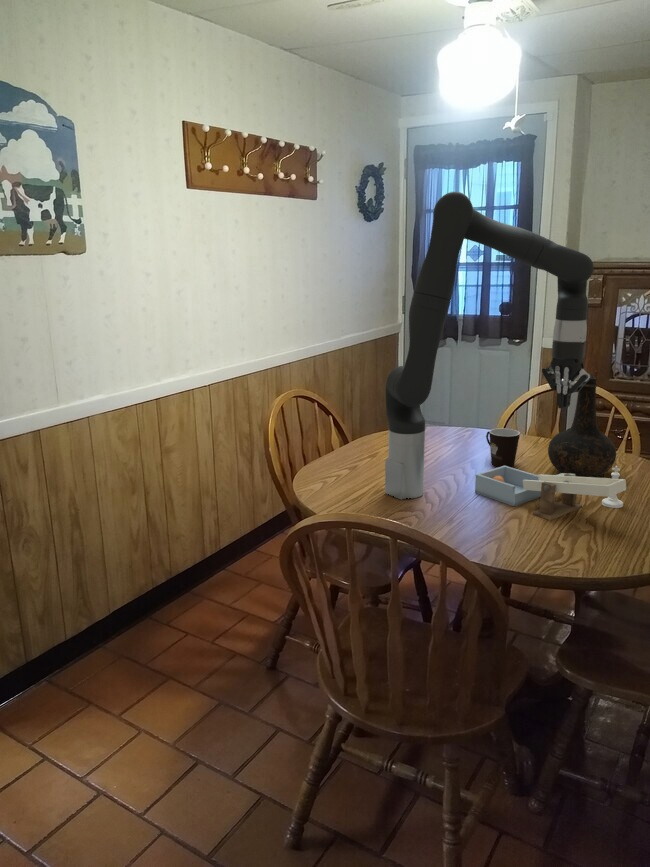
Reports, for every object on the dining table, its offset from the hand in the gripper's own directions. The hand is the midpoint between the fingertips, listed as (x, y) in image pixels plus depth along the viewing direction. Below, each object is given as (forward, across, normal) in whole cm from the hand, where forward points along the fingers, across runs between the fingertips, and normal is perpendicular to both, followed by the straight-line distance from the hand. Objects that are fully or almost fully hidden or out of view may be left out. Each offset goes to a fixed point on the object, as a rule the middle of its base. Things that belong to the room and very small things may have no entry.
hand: (563, 408), depth 165 cm
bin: (+23, -8, -9) cm, 26 cm away
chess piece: (+23, +13, +5) cm, 27 cm away
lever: (+17, +10, -4) cm, 20 cm away
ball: (+21, -12, -9) cm, 25 cm away
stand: (+23, +7, -9) cm, 25 cm away
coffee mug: (+23, -25, +10) cm, 36 cm away
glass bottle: (+23, -6, +19) cm, 31 cm away
